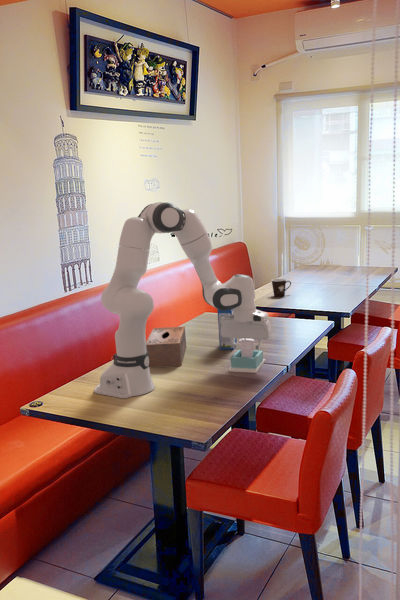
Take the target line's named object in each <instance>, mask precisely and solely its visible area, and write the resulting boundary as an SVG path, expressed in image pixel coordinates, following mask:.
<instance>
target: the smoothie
mask: <svg viewBox="0 0 400 600" xmlns="http://www.w3.org/2000/svg"><path fill="white" fill-rule="evenodd" d="M238 344H239V350H241V355H242V357H247V358H253V350H254V344H255V339H247V338H239V339H238Z"/></svg>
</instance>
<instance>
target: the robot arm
mask: <svg viewBox="0 0 400 600" xmlns="http://www.w3.org/2000/svg"><path fill="white" fill-rule="evenodd" d="M124 221H125V222H124V224H123V226H122V229H121V234H120V238H119V241H118V250H117V256H116V257H117V258H116V264H115V268H114V271H113V273H112V276H111V279H110V281H109V283H108V285H107V286H106V287H104V288H105V289H103V291H102V293H101V297H100V300H101V303H102V306H103V308H105V309H106V310H107V311H109V312H110V313H111V314H115V315H118V318H119V324H118V329H117V330H116V331H115V334H114V340H115V341H114V342H115V349H116V350H115V351H116V353H114V354H113V355H112V356H111V357H110V360H111V361H112V360H113V362H112V364H111V365H110V366H108V368H106V369H105V370H103V372H102V373H101V375H100V377H99V384H98V385H96V386H95V388H94V390H93V391H94V394H98V395H102V396H103V395H104V396H110V397H114V398H118V399H127V398H128V399H129V398H131V397H136V396H141V395H145V394H148V393H150V392H151V391H153V390H155V383H154V382H153V381H154V380H153V379H152V375H151V370H150V367H149V356H148V351H147V348H146V341H147V335H146V329H147V322H148V318H149V317H150V315H151V314H152V312H153V311H154V306H155V303H154V299H153V297H152V296H151V294H149V293H148V292H146V291H145V290H144V289H141V288H138V285H139V283H140V280H141V278H142V277H143V276H144V275H145V274H146V273H147V270H148V264H149V255H150V249H151V242H152V241H151V240H152V238H153V237H154V235H155V234H170V233H173V234H174V235H175V237H176V238H177V240H178V242H179V244H180V247H181V249H182V251H183V252H184V254H185V255H186V257H187V258H188V259H189V261H190V263H191V264H192V265H193V267H194V269H195V271H196V274H197V276H198V278H199V281H200V283H201V286H202V287H201V288H202V290H201V291H202V297H203V300H204V301H205V303H206V304H208V306H212V307H213V308H215V309H218V310H221V311H226V310H230V309H233V314H234V315H226V314H225V315H223V316H221V318H220V323H221V336H222V337H223V338H230V341H231V343H232V344H233V348H234V349H238V344H239V343H238V342H237V343H235V341H234V339H235V338H237V339H243V338H247V339H254V340H257V342H258V343H256V344H255V350H257V351H261V344H262V343H263V340H269V339H270V338H271V337H272V326H271V321H270V320H269V319H268V318H269V315H268V313H267V312H266V311H263V310H260V309H257V307H256V303H255V298H256V291H255V283H254V280H253V278H252V277H251V276H250V275H247V274H241V273H240V274H239V273H237V274H233V276H232V277H231V278H230V279H228V280H227V281H225V282H223V283H222V282H221V281H220V280H219V279H218V278H217V276H216V274H215V271H214V268H213V266H212V264H211V261H210V255H211V253H212V251H213V246H212V242H211V239H210V238H211V237H210V235H209V233H208V231H207V230H206V226H204V224H203V222H202V220H201V219H200V218H199V216H198V215H197V213H196V212H195V210H193V209H189V208H185V209H180V208H179V207H178V206H176V205H175V204H173V203H171V202H160V201H159V202H154V203H150V204H147V206H144V208H143V209H142V210H141V211H140V213H139V214H138V216H133V217H130V218H127V219H126V220H124Z"/></svg>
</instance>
